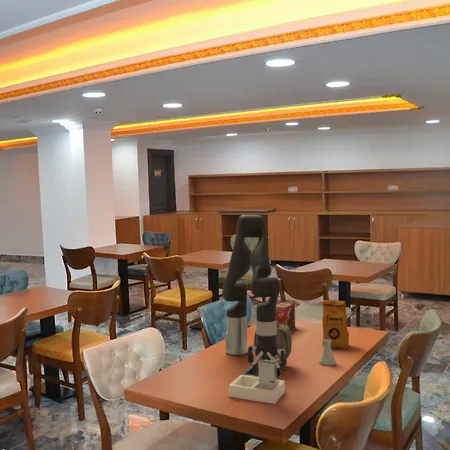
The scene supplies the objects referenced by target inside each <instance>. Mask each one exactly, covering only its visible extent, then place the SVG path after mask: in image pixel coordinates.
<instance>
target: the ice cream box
mask: <svg viewBox="0 0 450 450" xmlns="http://www.w3.org/2000/svg"><path fill="white" fill-rule="evenodd" d="M276 309H277V310H279V311H280V313H281V316H280V313H279V312H278V311H276V317H278V316H280V317H279V318H277V319H276V320H277V321H278V322H279V324H281V325H286V326H288V327H289V328H290V331H292V330H294V329H295V328H296V304H295V303H294V302H288V301H287V302H286V301H283V302H282V303H279V304H276ZM293 328H294V329H293Z"/></svg>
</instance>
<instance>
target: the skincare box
mask: <svg viewBox="0 0 450 450" xmlns="http://www.w3.org/2000/svg"><path fill="white" fill-rule="evenodd" d="M258 364H259V388H260V389H267V390H273V389H274V388H275V387H276V386H277V380H278V378H277V377H276V368H277V366H276V365H275V364H274V363H273V362H272V360H270V361H269V360H262V359H261V360H259V361H258Z"/></svg>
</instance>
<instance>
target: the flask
mask: <svg viewBox="0 0 450 450" xmlns="http://www.w3.org/2000/svg"><path fill="white" fill-rule="evenodd" d="M330 343H331V340H328V339H326V340H324V346H323V349H322V350H323V351H322V353H321V356H320V358H319V360H318V363H319V364H320V365H322V366H327V367H328V366H335V365H336V364H337V361H336V358H335V355H334V353H333V350H332V347H331V344H330Z"/></svg>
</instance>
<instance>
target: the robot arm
mask: <svg viewBox="0 0 450 450" xmlns="http://www.w3.org/2000/svg"><path fill="white" fill-rule="evenodd" d="M236 224H237V225H236V230H235V237H234V245H233V247H232V252H231V255H230V260H229V265H228V270H227V274H226V277H225V279H224V282H223V286H222V290H221V291H222V292H221V295H222V299H223V300H224V302H236V303H235V304H234V305H233V306H230V307H229V308H227V310H226V312H225V313H226V332H225V333H224V334H225V338H224V339H225V354H229V355H232V356H243V355H246V354H247V362H248V363H249V364H252V366H253V373H254V374H255V375H257V374H258V364H259V362H260V361H261V360H260V359H262V360H269V361H270V360H272V362H273V363H274V364H275V365H276V366H277V368H276V377H277V379H279V378H280V377H281V376H282V374H283V373H282V372H283V371H282V370H283V367H284V366H286V365H287V364H288V363H287V361H288V358H287V359H286V349H283V350H281V349H278V348H277V324H276V305H278V304H277V302H278V298H279V294H280V292H281V283H280V280H279V279H278V278H277V277H275V276H273V277H272V276H271V274H272V266H271V261H270V257H269V251H268V250H269V249H268V247H269V246H268V235H267V233H268V232H267V222H266V219H265V217H264V216H263V215H260V214H242V215H240V216H239V217H238V220H237V223H236ZM247 238H248V239H249V238H250V239H251V238H252V239H257V238H258V241H257V244H256V246H255V247H254V248H253V250H251V249H250V247H249V245H248V244H247V242H246V241H245V239H247ZM250 269H251V270H252V278H251V284H250V292H251V294H252V296H253V297H255V298H259V299H260V298H268V300H266V301H264V302H261V303H258V304H257V305H256V307H255V309H256V310H255V311H256V312H255V313H256V315H255V317H256V322H255V323H256V324H255V332H256V344H257V346H256V347H254V344H251V345H249V347H248V321H247V320H248V319H247V318H248V317H247V315H248V314H247V311H248V309H247V308H248V306H247V305H248V286H247V283H246V281H245V280H241V279H242V278H243V277H245V276H246V274H247V273H248V272H249V271H250ZM270 276H271V277H270ZM255 350H256V352H257V353H258V356H257V357H256V356H255V358H254V353H255ZM277 353H279V355H280V356H281V362H280V360H279V358H278V356H277V355H276V354H277Z"/></svg>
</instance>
